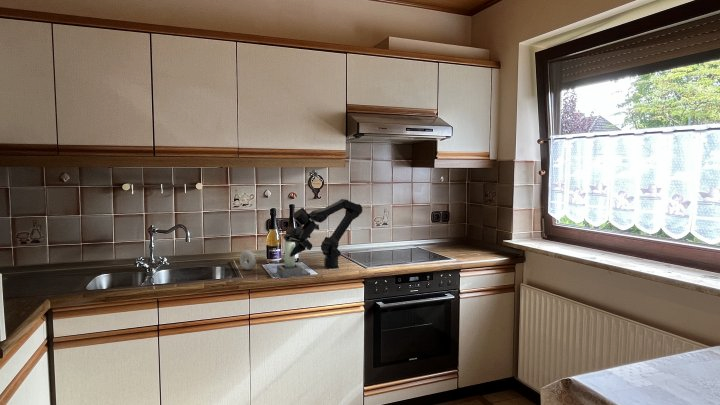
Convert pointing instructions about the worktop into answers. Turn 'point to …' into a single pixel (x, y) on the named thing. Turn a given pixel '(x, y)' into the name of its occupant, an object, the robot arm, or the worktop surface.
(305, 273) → the socket
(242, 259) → the donut
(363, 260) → the worktop surface
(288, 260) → the pale green cylinder
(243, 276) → the worktop surface
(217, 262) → the worktop surface
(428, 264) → the worktop surface
